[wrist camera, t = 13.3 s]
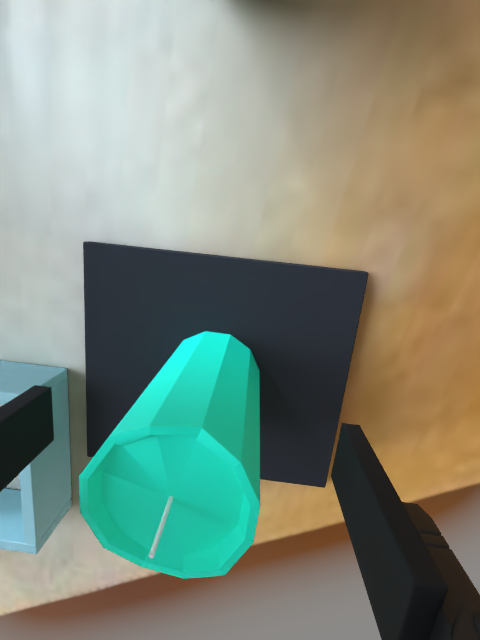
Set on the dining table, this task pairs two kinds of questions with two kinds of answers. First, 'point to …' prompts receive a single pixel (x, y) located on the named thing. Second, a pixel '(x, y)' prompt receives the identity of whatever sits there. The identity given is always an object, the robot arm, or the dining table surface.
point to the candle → (183, 464)
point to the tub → (37, 464)
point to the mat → (228, 318)
